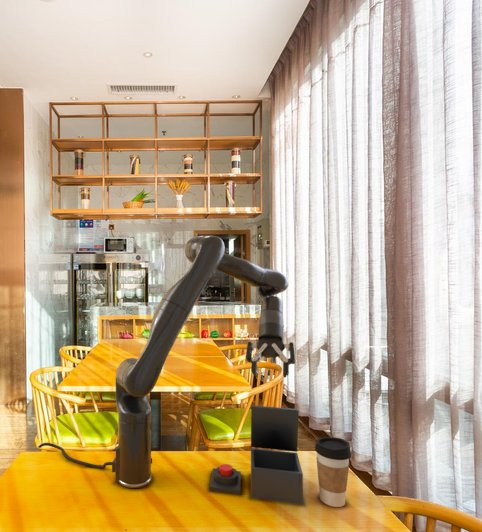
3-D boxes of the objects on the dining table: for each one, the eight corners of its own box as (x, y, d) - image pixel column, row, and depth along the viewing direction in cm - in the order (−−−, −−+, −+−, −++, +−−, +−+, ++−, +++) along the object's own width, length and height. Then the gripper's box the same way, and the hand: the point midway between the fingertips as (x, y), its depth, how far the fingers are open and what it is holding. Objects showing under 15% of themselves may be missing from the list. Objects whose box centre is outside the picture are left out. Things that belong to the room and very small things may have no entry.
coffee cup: (354, 512, 97) (355, 450, 97) (317, 507, 98) (318, 447, 98) (345, 493, 105) (346, 436, 105) (311, 489, 107) (312, 433, 107)
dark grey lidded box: (302, 504, 100) (302, 473, 100) (251, 498, 102) (251, 468, 102) (296, 480, 111) (297, 452, 111) (250, 475, 114) (250, 447, 114)
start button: (218, 476, 108) (218, 469, 108) (219, 469, 112) (219, 463, 112) (232, 477, 107) (232, 471, 107) (232, 470, 111) (232, 464, 111)
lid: (298, 410, 108) (298, 409, 109) (251, 406, 111) (251, 405, 112) (297, 451, 111) (296, 450, 111) (250, 447, 113) (250, 445, 114)
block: (209, 491, 105) (209, 479, 105) (212, 472, 115) (212, 461, 115) (240, 495, 104) (240, 483, 104) (241, 475, 113) (241, 464, 113)
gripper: (246, 321, 126) (243, 369, 117) (293, 321, 121) (293, 371, 112) (250, 332, 132) (247, 379, 122) (295, 333, 126) (296, 382, 117)
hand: (269, 375), depth 117 cm, fingers open, 8 cm apart
